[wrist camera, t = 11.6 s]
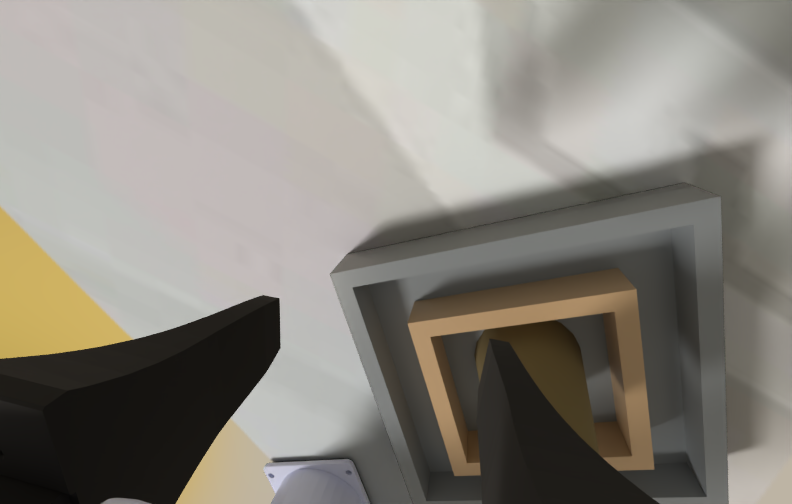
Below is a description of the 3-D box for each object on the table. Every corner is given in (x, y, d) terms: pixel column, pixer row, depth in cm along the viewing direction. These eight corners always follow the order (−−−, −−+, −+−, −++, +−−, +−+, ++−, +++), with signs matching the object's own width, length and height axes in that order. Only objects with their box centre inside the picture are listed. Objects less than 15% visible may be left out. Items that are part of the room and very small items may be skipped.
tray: (699, 463, 24) (732, 515, 21) (421, 473, 29) (415, 516, 26) (684, 182, 18) (725, 198, 15) (346, 254, 23) (327, 276, 20)
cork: (474, 395, 24) (472, 600, 14) (474, 311, 22) (471, 482, 12) (576, 403, 23) (653, 634, 13) (586, 314, 21) (687, 509, 11)
